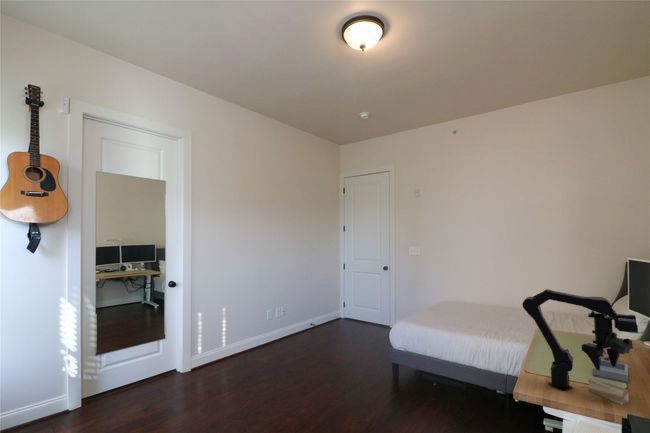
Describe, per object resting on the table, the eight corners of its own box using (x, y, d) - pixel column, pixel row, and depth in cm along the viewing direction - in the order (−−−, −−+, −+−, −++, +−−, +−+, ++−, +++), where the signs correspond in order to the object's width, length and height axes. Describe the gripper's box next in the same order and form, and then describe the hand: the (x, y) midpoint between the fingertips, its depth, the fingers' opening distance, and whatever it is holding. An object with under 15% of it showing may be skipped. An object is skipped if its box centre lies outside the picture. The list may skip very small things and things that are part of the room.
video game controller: (608, 361, 173) (599, 347, 175) (618, 358, 171) (609, 345, 173) (612, 368, 164) (603, 354, 166) (623, 365, 162) (613, 351, 164)
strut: (621, 405, 128) (620, 392, 129) (589, 391, 140) (588, 379, 140) (628, 403, 129) (627, 390, 130) (595, 389, 141) (595, 377, 141)
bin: (628, 383, 145) (627, 375, 145) (592, 376, 153) (592, 368, 153) (628, 371, 156) (627, 364, 156) (595, 365, 164) (594, 358, 164)
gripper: (609, 338, 125) (612, 380, 125) (642, 331, 131) (645, 372, 130) (579, 329, 136) (581, 368, 135) (610, 324, 142) (613, 361, 141)
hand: (606, 368), depth 135 cm, fingers open, 9 cm apart
